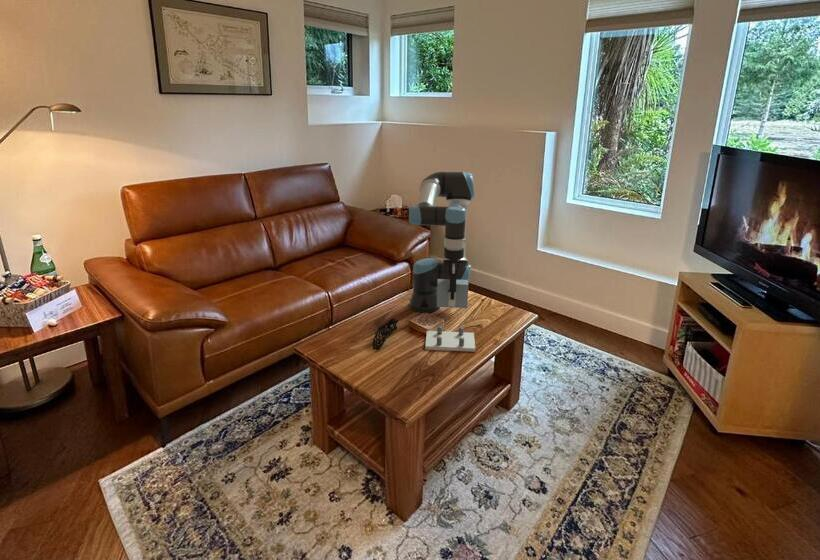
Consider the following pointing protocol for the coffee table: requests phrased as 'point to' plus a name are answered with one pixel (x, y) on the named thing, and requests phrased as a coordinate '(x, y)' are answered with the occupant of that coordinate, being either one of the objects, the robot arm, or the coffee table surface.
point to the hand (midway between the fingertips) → (451, 303)
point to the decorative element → (384, 333)
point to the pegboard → (450, 340)
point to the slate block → (444, 295)
